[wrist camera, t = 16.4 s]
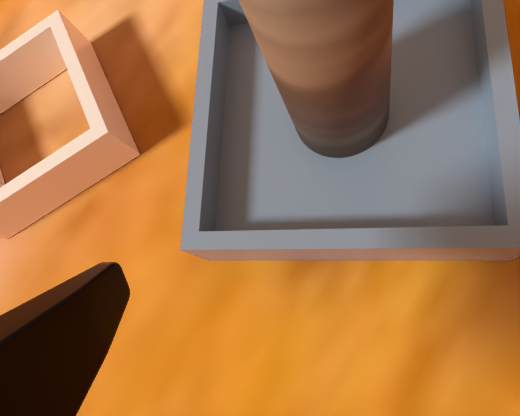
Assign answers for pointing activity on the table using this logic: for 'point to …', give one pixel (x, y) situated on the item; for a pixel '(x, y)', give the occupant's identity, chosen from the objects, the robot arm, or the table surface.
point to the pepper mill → (329, 67)
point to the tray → (369, 161)
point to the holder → (78, 150)
